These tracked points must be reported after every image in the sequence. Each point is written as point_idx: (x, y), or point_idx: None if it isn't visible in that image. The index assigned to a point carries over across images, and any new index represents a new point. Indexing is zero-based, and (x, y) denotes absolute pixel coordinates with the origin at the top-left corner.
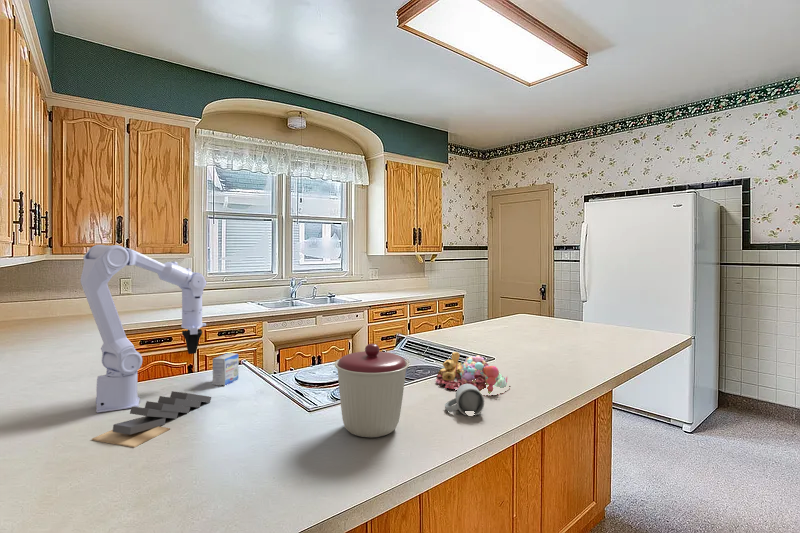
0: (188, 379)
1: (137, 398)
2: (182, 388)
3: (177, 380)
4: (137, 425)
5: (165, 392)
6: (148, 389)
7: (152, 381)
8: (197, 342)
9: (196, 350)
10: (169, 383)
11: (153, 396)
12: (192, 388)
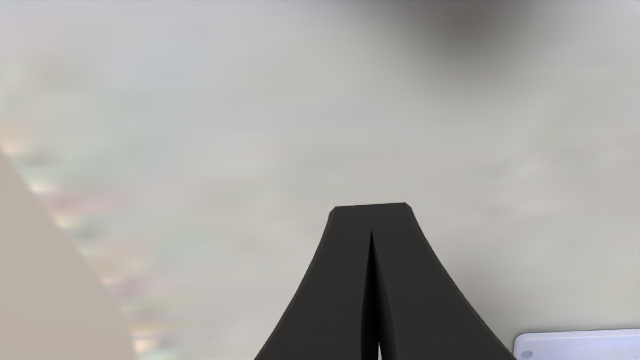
0: (123, 74)
1: (617, 356)
2: (398, 112)
3: (139, 155)
4: None
5: (450, 215)
6: None
7: (133, 295)
8: (498, 349)
9: (414, 225)
10: (214, 202)
11: (508, 271)
12: (436, 34)
